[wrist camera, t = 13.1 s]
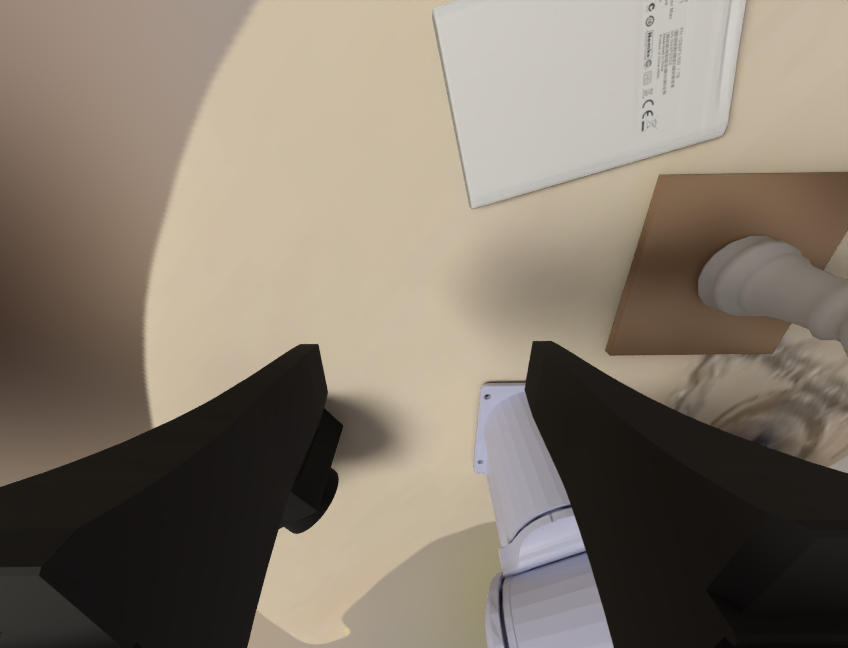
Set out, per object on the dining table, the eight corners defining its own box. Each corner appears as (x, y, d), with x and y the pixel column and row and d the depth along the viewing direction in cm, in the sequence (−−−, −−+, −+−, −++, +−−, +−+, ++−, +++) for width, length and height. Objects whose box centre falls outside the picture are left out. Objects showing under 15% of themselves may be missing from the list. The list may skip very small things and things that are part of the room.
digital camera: (265, 480, 28) (220, 572, 22) (216, 445, 26) (150, 535, 19) (354, 434, 25) (331, 522, 19) (307, 391, 23) (264, 474, 17)
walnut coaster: (763, 348, 21) (772, 353, 21) (605, 350, 21) (609, 355, 21) (867, 171, 16) (883, 172, 16) (659, 174, 16) (667, 175, 16)
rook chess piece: (699, 319, 20) (858, 407, 12) (683, 261, 18) (856, 326, 11) (778, 281, 18) (1002, 355, 11) (769, 216, 17) (1026, 256, 10)
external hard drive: (431, 21, 14) (729, -90, 12) (468, 206, 18) (701, 138, 16) (432, 5, 12) (769, -123, 11) (472, 210, 16) (728, 136, 15)
